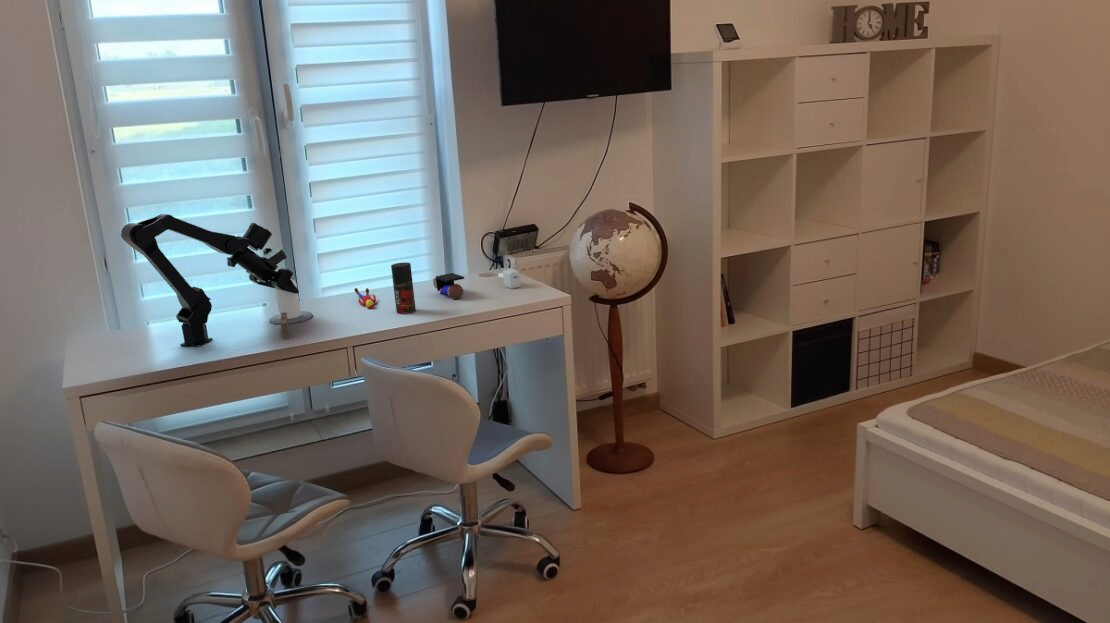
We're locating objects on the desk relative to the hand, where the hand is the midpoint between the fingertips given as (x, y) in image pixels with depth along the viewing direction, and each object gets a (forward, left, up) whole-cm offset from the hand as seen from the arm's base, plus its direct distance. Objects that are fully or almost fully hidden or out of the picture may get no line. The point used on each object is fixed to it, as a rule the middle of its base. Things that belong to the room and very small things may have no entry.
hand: (291, 290), depth 264 cm
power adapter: (+41, -57, -9) cm, 71 cm away
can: (-1, +1, -8) cm, 8 cm away
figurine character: (+28, -41, -9) cm, 51 cm away
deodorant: (+8, -34, -9) cm, 36 cm away
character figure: (+19, -15, -9) cm, 26 cm away
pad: (-1, +1, -9) cm, 9 cm away
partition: (-16, -6, -9) cm, 19 cm away
